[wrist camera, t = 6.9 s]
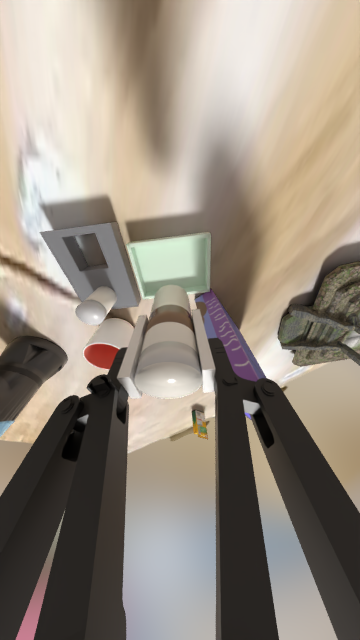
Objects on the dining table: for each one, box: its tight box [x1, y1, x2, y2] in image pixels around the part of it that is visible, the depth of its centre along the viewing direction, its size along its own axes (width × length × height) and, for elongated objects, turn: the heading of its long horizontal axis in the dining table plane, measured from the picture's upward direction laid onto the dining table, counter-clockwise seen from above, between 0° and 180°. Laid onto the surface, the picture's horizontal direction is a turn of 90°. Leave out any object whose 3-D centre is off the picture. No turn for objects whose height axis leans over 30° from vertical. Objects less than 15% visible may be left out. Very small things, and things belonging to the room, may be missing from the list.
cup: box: [83, 318, 134, 370], centre depth 37 cm, size 10×10×10 cm
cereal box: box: [195, 289, 266, 420], centre depth 30 cm, size 17×5×24 cm, turn 37°
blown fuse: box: [134, 285, 203, 399], centre depth 14 cm, size 4×4×11 cm
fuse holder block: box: [40, 222, 141, 325], centre depth 26 cm, size 12×16×11 cm
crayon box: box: [192, 410, 208, 439], centre depth 74 cm, size 7×3×12 cm, turn 48°
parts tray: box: [126, 232, 211, 299], centre depth 29 cm, size 15×11×3 cm
